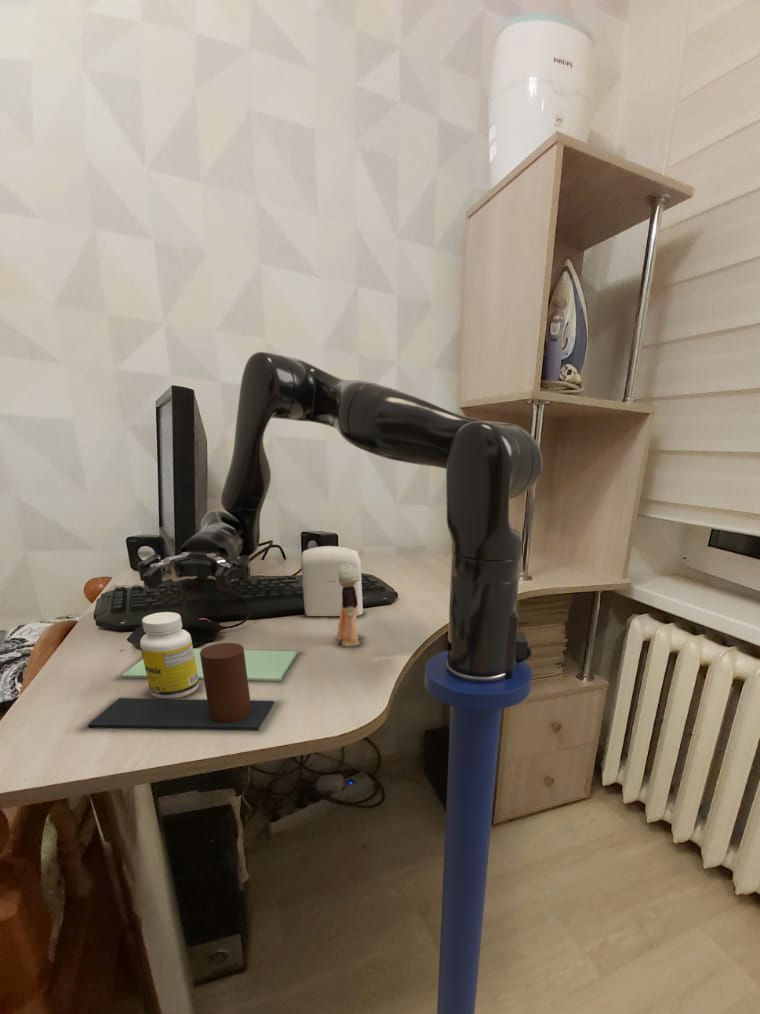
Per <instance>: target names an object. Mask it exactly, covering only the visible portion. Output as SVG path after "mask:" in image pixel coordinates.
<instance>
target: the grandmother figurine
mask: <svg viewBox="0 0 760 1014" xmlns="http://www.w3.org/2000/svg"><path fill="white" fill-rule="evenodd" d="M338 574H339V583H340V585H341V586H343V589H342V609H341V613H340V616H339V619H338V626H337V639H338V640H342V641H341V645H342V646H343V647H356V646H359V645H360V641H359V638H360V637H359V635H358V625H357V605H358V604H357V597H356V591H355V588H354V587H353V586H354V585H355V583H356V581H359V580H360V578H361V579H362V574H361V575H360V574H359V573H358V571H357V569H356V568H354V567H353V566H351V565H348V564H344V565H342V566H340V568H339V569H338Z"/></svg>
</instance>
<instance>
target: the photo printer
mask: <svg viewBox="0 0 760 1014" xmlns="http://www.w3.org/2000/svg"><path fill="white" fill-rule="evenodd" d="M300 558H301V559H300V568H301V569H300V571H301V583H302V595H303V605H304V614H305V615H306V616H307V617H340V613H341V609H342V589H343V586H341V585H340V583H339V574H338V569H339V568H340V566H342V565H344V564H348V565H351V566H353V567H354V568H356V569H357V571H358V573H359V574H360V575H361V576H362V564H361V562H362V561H361V559H360V557H359V553H358V551H357V550H354V549H351V548H348V547H343V546H336V545H324V546H316V547H311V548H308V549H305V550H303V551H302V554H301V557H300ZM362 585H363V584H362V577H361V578H360V580H359V581H356V583H355V585H354V586H353V587H354V588H355V591H356V597H357V604H358V605H357V616H361V615H362V614H363V613H364V608H363V586H362Z"/></svg>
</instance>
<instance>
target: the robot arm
mask: <svg viewBox="0 0 760 1014" xmlns="http://www.w3.org/2000/svg"><path fill="white" fill-rule="evenodd" d="M237 404H238V405H237V412H236V422H235V432H234V441H233V442H234V443H233V448H232V449H233V450H232V456H231V461H230V465H229V469H228V471H227V475H226V478H225V481H224V484H223V487H222V491H221V494H220V498H219V499H220V500H219V502H220V505H221V506H222V508H223V509H224V510H221V509H211V510H209V511H208V512H206V514H204V516H203V517H202V519H201V522H200V525H201V530H200V529H199V531H198V532H196V533H195V534H193V535H192V536H191V537H190V538H189V539H188V540H186V541H185V542H184V543H183V544H182V546H181V547H180V549H179V551H178V554H177V555H173V556H168V557H165V558H164V559H162V558H161V555H160V554H157V553H156V554H152V555H149V556H148V557H147V558H144V559H143V560H141V561H140V562H138V563H137V568H138V569H137V570H138V574H139V580H140V582H144V586H145V587H146V586H147V588H148V589H149V590H150V589H151V590H153V589H154V590H155V589H157V588H158V587H159V586H160V585H161V584H162V583H163V582H166V581H170V582H174V583H177V582H180V581H184V580H194V581H196V582H199V583H204V584H212V583H215V587H216V589H224V587H225V586H228V585H230V583H233V582H235V579H238V581H240V582H245V581H249V577H250V574H251V565H250V563H251V562H250V556H253V554H255V553H256V551H257V549H258V547H259V545H260V538H261V521H260V520H261V514H262V513H261V511H262V508H263V505H264V503H265V501H266V498H267V496H268V493H269V489H270V486H271V481H272V472H271V466H270V463H269V459H268V456H267V453H266V448H265V444H264V436H265V432H266V430H267V427H268V425H269V422H270V421H271V419H277V420H278V419H279V420H287V421H288V420H289V421H298V422H312V423H315V424H319V425H320V424H321V425H324V426H328V427H332V428H334V429H336V430H337V432H338V433H339V434H340V435H341V437H342V438H343V439H344V440H345V441H346V442H348V444H350V445H352V446H354V447H356V448H358V449H360V450H362V451H365V452H367V453H370V454H373V455H375V456H378V457H381V458H384V459H387V460H390V461H396V462H402V463H406V464H411V465H412V464H413V465H418V466H427V467H435V468H440V469H445V479H446V480H445V495H446V497H445V499H446V500H445V501H446V503H445V505H446V524H447V529H448V532H449V535H450V539H451V560H450V563H451V564H450V585H449V586H450V588H449V608H448V609H449V610H448V611H449V612H448V633H447V641H446V647H447V651H448V653H447V665H446V668H447V671H448V673H449V674H450V675H452V676H453V677H455V678H457V679H460V680H463V681H466V682H472V683H493V682H498V681H501V680H504V679H512V678H513V668H514V659H516V660H515V661H516V662H517V663H518V664H519V663H521V662H523V661H524V662H525V661H527V660H528V659H529V658H530V657H531V655H532V648H531V647H530V646H529V642H528V639H527V637H526V634H525V631H518V624H519V614H518V612H517V604H518V603H517V602H518V594H519V593H518V592H519V581H520V571H521V559H522V551H523V536H522V534H521V532H519V531H518V530H516V529H515V528H513V527H512V525H511V523H510V499H513V498H516V497H519V496H521V495H523V494H525V493H526V492H528V491H529V490H531V489H532V488H533V487H534V486H535V485H536V483H537V482H538V480H539V479H540V477H541V474H542V473H543V472H542V471H543V465H544V463H543V455H542V451H541V447H540V446H539V444H538V441H536V439H535V437H534V436H533V435H531V433H530V432H529V431H528V430H526V429H525V428H523V427H522V426H519V425H518V424H514V423H509V422H500V421H489V420H484V419H479V418H473V417H469V416H465V415H461V414H458V413H455V412H453V411H451V410H448V409H445V408H443V407H441V406H439V405H436V404H434V403H433V402H429V401H426V400H425V399H421V398H419V397H417V396H415V395H412V394H409V393H406V392H403V391H401V390H398V389H396V388H391V387H389V386H385V385H382V384H379V383H376V382H372V381H371V382H370V381H366V380H359V379H343V378H340V377H337V376H335V375H333V374H332V373H329V372H327V371H325V370H323V369H321V368H319V367H317V366H315V365H313V364H311V363H309V362H307V361H304V360H302V359H298V358H294V357H290V356H286V355H282V354H277V353H273V352H265V351H257V352H255V353H253V354H252V355H251V356H250V357H249V358H248V359H247V361H246V363H245V366H244V369H243V372H242V375H241V381H240V387H239V396H238V403H237ZM164 571H165V574H164Z"/></svg>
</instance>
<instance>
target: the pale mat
mask: <svg viewBox="0 0 760 1014" xmlns="http://www.w3.org/2000/svg"><path fill="white" fill-rule="evenodd" d="M202 649H203V648H193V651H194V657H195V663H196V668H197V674H198V680H204V676H203V670H202V664H201V658H200V651H201V650H202ZM244 654H245V662H246V670H247V678H248V681H254V682H255V681H256V682H257V681H258V682H259V681H260V682H280V681H281V680H282V679H283V677H284V676H285V673H286V672H287V670H288V669H289V668H290V666H291V664H292V663H293V661H294V660H295V658H296V657H297V655H298V651H296V650H295V651H294V650H293V651H292V650H260V649H259V650H253V649H250V650H249V649H244ZM121 678H123V679H124V678H125V679H147V674H146V670H145V665H144V660H143V658H142V659H141V660H139V661H138V662H136V663H135V664H134V665H132V666H131V667H130V668H129V669H128V670H126V671H125V672H124V673H123V674H122V675H121Z"/></svg>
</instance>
